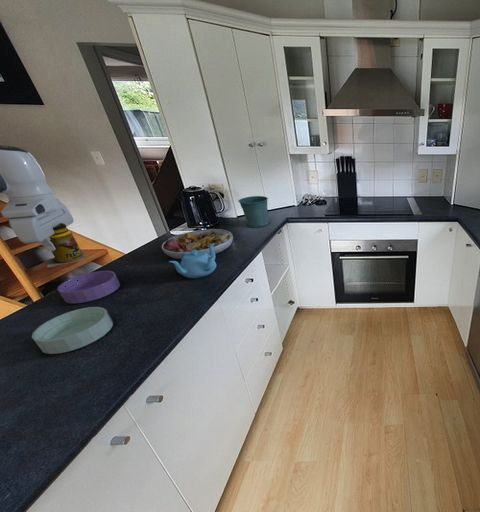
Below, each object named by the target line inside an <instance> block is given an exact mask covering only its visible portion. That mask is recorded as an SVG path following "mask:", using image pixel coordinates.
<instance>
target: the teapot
mask: <svg viewBox="0 0 480 512" xmlns="http://www.w3.org/2000/svg"><path fill="white" fill-rule="evenodd" d="M213 246H214V243H212V244H211V245H210V247H209V254H207V253H206V252H204V251H197V250H192V251H190V253H183V254H182V259H181V261H180V263H179V261H176V260H169V261H168V263H170V264H173V265H174V267H175V271H176V272H177V273H178V274H179V275H181V276H183V277H185V278H188V279H200V278H204V277H207V276H209V275H211V274H212V273H214V272H215V270H216V268H217V262H216V261H215V260H216V254H215V252H214V250H213Z"/></svg>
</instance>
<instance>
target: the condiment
mask: <svg viewBox="0 0 480 512" xmlns="http://www.w3.org/2000/svg"><path fill="white" fill-rule="evenodd" d="M53 230H54V234H53V235H52V236H50V239H51V240H50V241H51V242H52V243H53V244H56V247H57V249H56V250H54V251H50V252H51V253H52V255H53V258H49V259H48V261H47V264H46V265H47V266H46V268H53V267H57V266H61V265H67V264H72V263H77V262H82V261H85V260H86V252H82V251H81V249H80V247H79V244H78V242H77V241H76V239H75V236H74V234H73V233H72V232H71V231H70V230H69V228H68V226H67V227H66V225H65V224H63V223H60V224H59V225H57V226H55V227H53Z"/></svg>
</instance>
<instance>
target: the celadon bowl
mask: <svg viewBox="0 0 480 512" xmlns="http://www.w3.org/2000/svg"><path fill="white" fill-rule="evenodd" d="M113 326H114V321H113V320H112V318H111V316H110V314H109V312H108V310H107V309H106V308H104V307H101V306H89V307H82V308H78V309H75V310H71V311H67V312H64V313H61V314H60V315H57V316H54V317H53V318H51V319H48V320H47V321H45V322H44V323H42V324H41V325H39V326H38V327H36V329H35V330H34V331H33V332H32V335H31V339H32V340H33V341H34V343H35V344H36V345H37V347H38V349H40V350H41V352H42V353H44V354H48V355H55V354H56V355H59V354H63V353H68V352H72V351H75V350H79V349H81V348H84V347H86V346H88V345H90V344H92V343H94V342H96V341H97V340H99V339H101V338H102V337H104V336H105V335H106V334H107V333H108V332H110V331H111V329H112V328H113Z"/></svg>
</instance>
